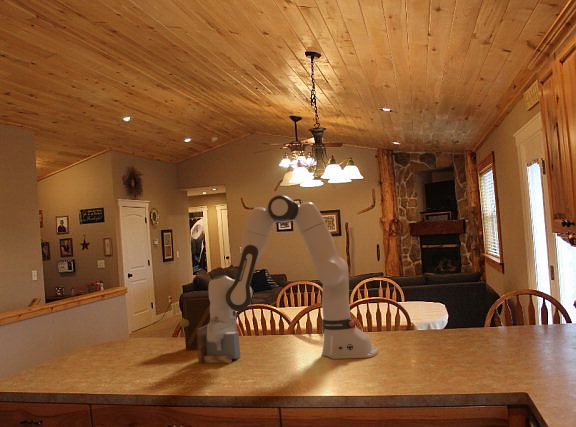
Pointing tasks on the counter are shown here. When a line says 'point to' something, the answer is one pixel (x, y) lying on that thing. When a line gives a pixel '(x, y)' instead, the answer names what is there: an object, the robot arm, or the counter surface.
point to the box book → (225, 346)
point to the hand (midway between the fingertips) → (223, 348)
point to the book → (194, 316)
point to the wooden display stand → (203, 351)
